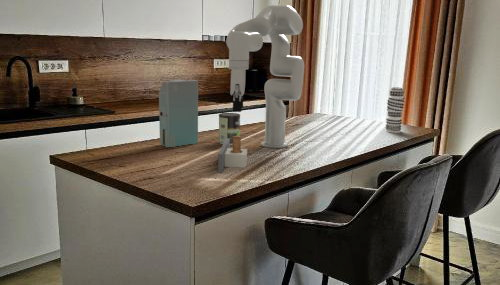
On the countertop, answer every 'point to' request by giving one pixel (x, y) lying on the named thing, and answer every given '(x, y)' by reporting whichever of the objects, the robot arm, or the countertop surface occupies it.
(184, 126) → the device
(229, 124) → the coffee can
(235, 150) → the dowel
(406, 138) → the countertop surface
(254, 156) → the countertop surface
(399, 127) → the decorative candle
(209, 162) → the countertop surface
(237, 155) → the socket block
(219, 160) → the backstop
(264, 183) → the countertop surface
